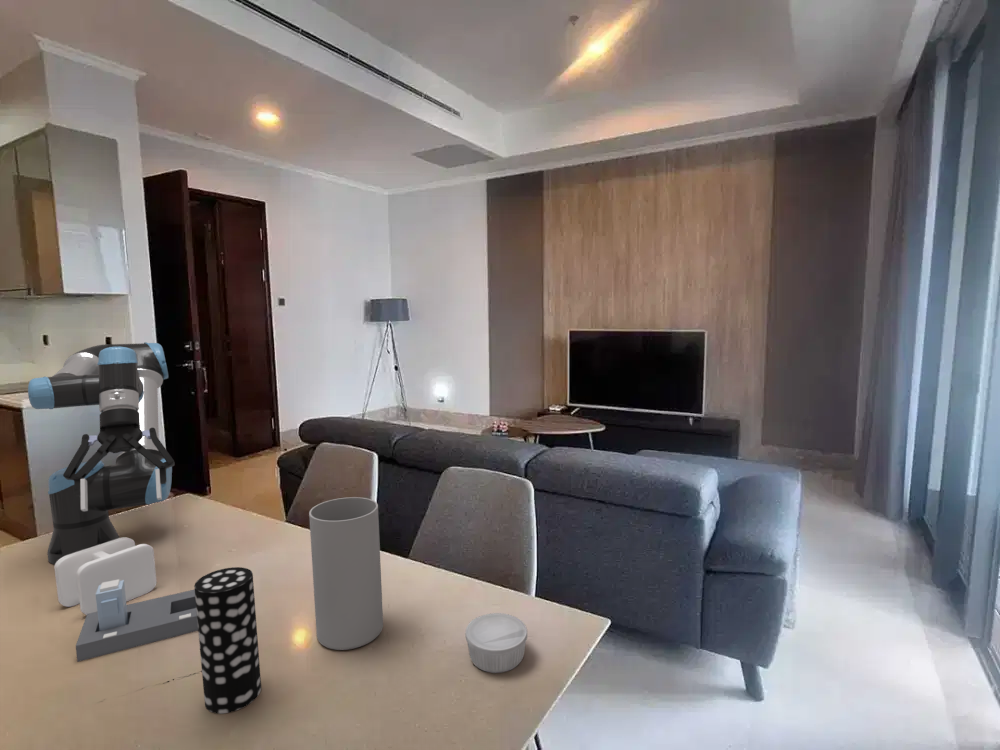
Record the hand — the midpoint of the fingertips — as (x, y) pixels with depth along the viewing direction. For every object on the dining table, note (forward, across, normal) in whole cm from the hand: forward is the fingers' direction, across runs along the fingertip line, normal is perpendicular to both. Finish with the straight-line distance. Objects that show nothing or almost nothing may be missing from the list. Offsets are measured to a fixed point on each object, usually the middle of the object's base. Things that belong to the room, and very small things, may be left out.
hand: (122, 504), depth 120 cm
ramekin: (+46, +60, -44) cm, 87 cm away
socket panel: (+27, +5, -7) cm, 28 cm away
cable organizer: (+19, -4, +10) cm, 22 cm away
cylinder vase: (+37, +39, -25) cm, 59 cm away
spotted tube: (+40, +18, -32) cm, 55 cm away
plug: (+26, -1, -7) cm, 27 cm away
